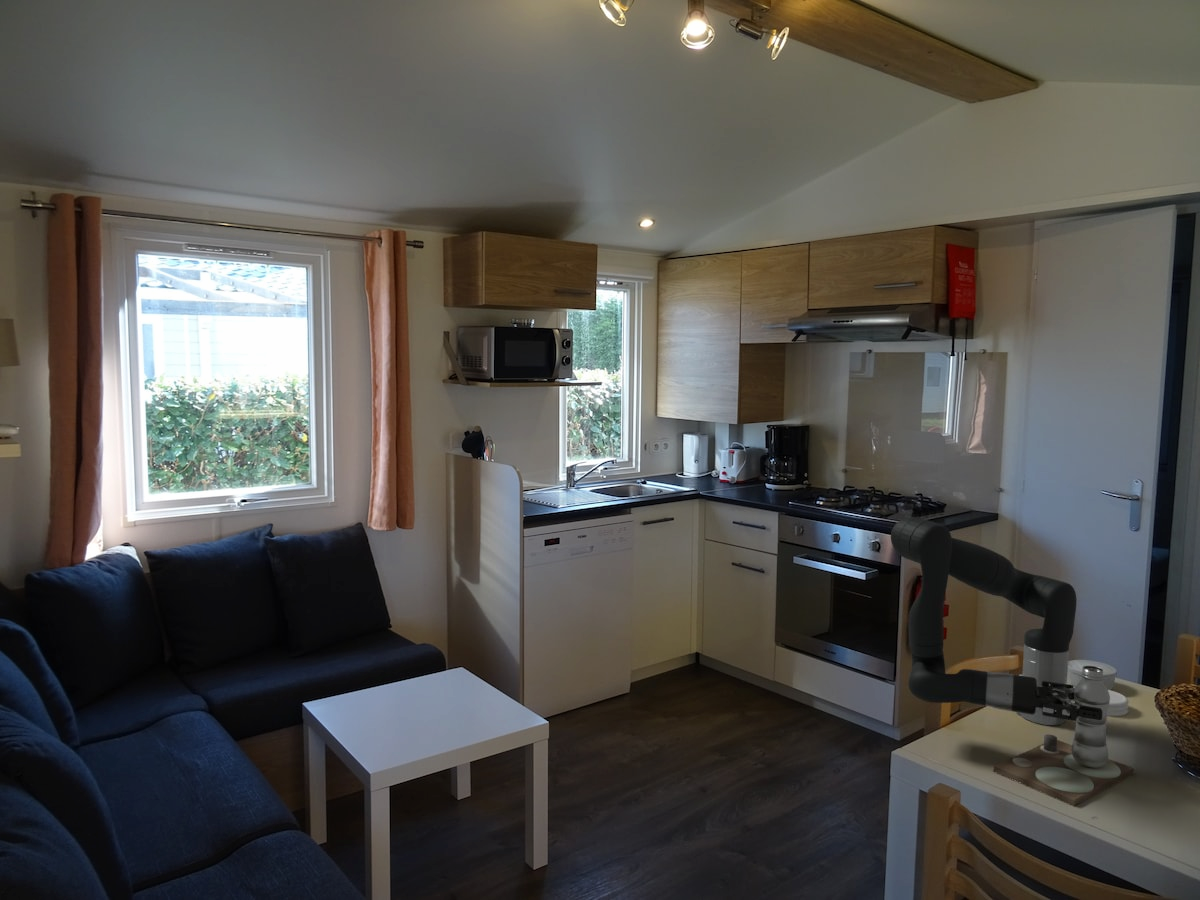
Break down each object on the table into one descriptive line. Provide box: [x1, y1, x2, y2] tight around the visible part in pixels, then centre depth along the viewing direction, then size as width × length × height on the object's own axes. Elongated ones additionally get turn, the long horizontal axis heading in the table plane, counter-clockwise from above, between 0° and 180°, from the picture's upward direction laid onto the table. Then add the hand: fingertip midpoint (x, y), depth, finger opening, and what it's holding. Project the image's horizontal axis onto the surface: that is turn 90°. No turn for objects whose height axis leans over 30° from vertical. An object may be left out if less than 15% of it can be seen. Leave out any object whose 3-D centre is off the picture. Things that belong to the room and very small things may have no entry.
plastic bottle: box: [1071, 666, 1110, 768], centre depth 168 cm, size 6×7×20 cm
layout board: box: [993, 734, 1135, 807], centre depth 169 cm, size 16×23×4 cm
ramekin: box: [1067, 659, 1118, 691], centre depth 215 cm, size 11×11×5 cm
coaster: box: [1107, 689, 1129, 717], centre depth 201 cm, size 10×10×4 cm
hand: (1100, 706), depth 167 cm, fingers open, 8 cm apart
